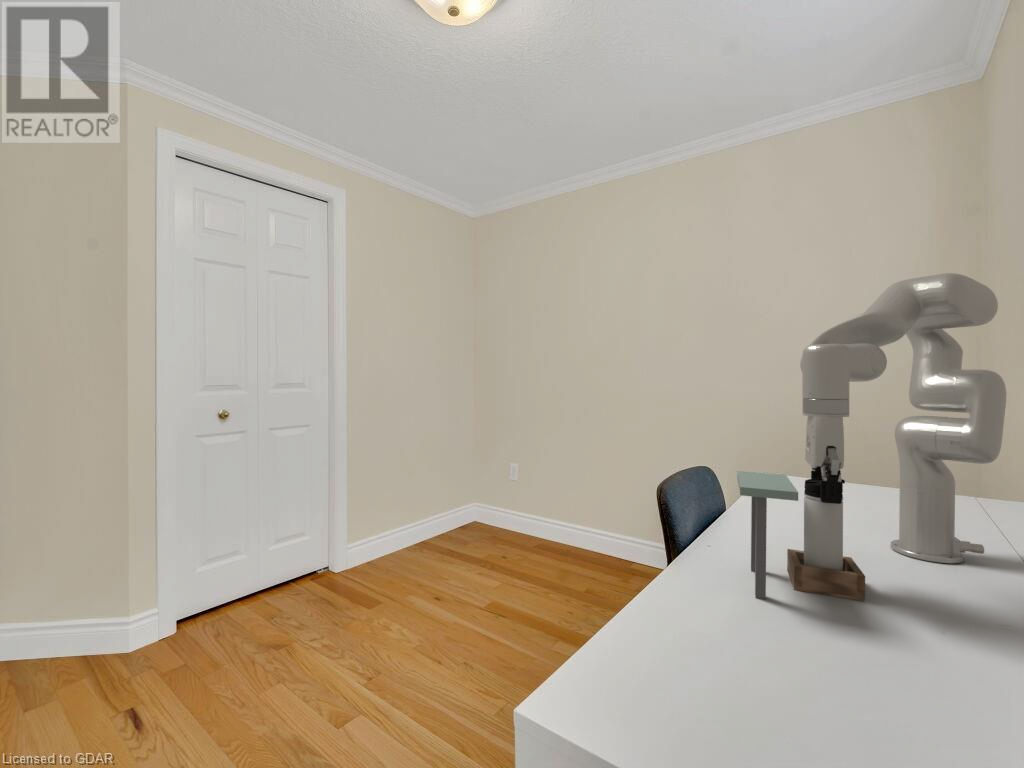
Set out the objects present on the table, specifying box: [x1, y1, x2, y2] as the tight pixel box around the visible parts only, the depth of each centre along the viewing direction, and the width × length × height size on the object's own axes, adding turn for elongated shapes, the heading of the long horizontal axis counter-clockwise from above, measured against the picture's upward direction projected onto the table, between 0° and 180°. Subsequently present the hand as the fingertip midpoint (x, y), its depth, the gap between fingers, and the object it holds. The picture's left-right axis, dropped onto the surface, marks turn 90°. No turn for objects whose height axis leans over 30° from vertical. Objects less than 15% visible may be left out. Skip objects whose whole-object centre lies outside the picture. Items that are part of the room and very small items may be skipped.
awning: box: [736, 470, 799, 601], centre depth 90 cm, size 9×17×20 cm, turn 156°
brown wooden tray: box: [786, 548, 866, 602], centre depth 90 cm, size 11×10×4 cm
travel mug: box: [803, 478, 846, 571], centre depth 90 cm, size 6×7×20 cm
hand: (825, 496), depth 90 cm, fingers open, 9 cm apart
